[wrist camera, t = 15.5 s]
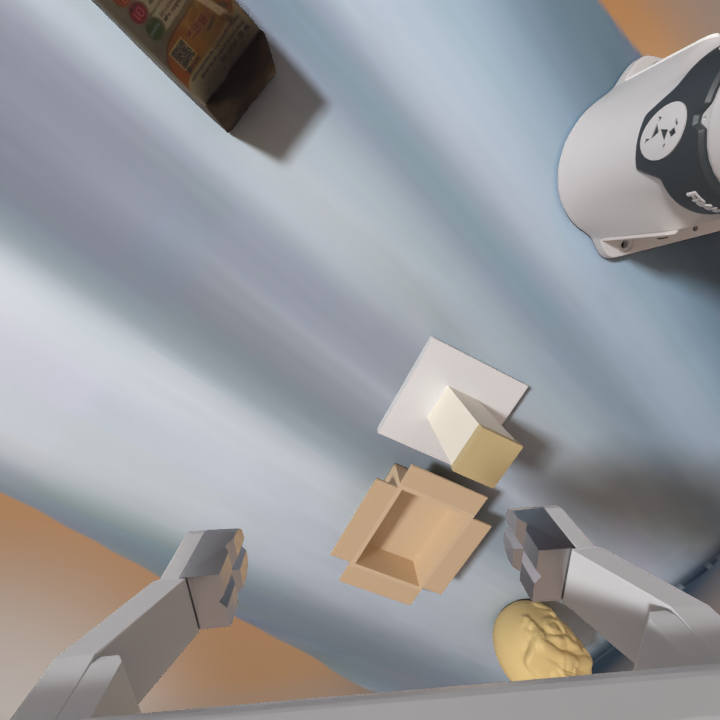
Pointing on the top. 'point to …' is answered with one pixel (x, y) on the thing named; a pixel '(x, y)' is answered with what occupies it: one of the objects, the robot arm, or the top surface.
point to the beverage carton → (200, 50)
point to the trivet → (427, 386)
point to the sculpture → (537, 644)
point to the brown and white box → (472, 438)
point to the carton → (410, 534)
